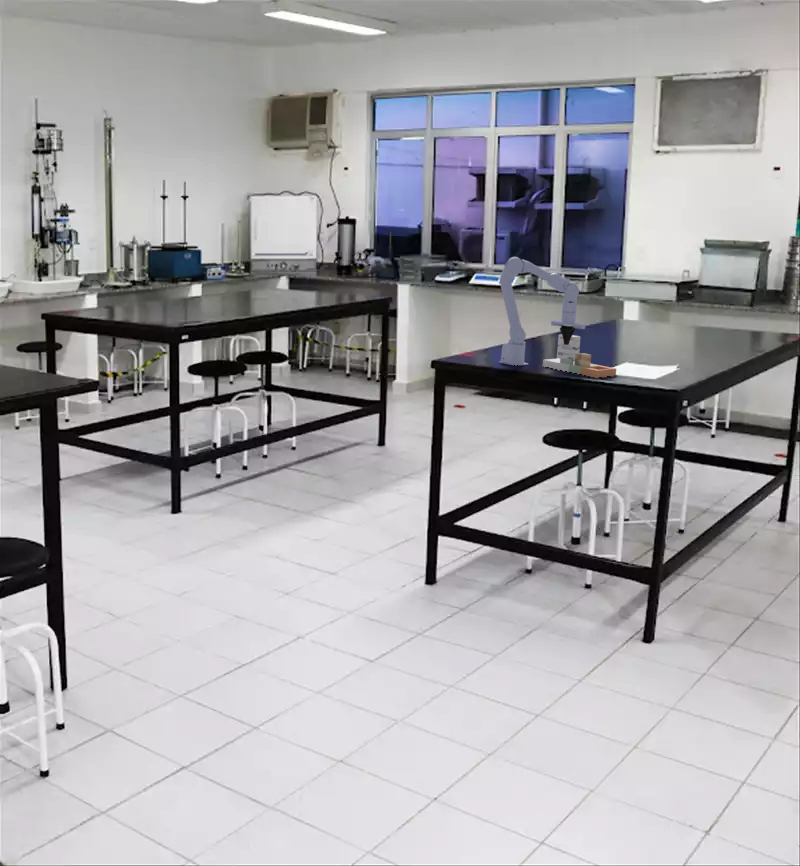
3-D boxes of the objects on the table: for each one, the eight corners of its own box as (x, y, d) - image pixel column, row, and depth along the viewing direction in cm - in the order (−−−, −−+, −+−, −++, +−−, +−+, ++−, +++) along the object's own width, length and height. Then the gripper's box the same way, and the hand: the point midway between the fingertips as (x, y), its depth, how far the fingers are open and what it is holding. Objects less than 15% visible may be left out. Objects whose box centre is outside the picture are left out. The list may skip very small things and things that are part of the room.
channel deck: (542, 366, 423) (543, 354, 422) (562, 365, 430) (562, 353, 429) (596, 378, 402) (597, 365, 401) (615, 375, 409) (616, 363, 408)
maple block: (574, 364, 414) (575, 353, 413) (583, 364, 416) (583, 353, 415) (581, 366, 410) (582, 355, 409) (590, 365, 412) (591, 354, 411)
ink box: (579, 363, 438) (581, 335, 435) (573, 364, 434) (576, 336, 431) (561, 360, 443) (563, 333, 440) (555, 361, 439) (558, 334, 436)
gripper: (548, 310, 421) (546, 343, 424) (581, 314, 413) (578, 347, 416) (556, 309, 427) (553, 341, 430) (588, 313, 419) (585, 345, 422)
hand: (566, 344), depth 423 cm, fingers closed
